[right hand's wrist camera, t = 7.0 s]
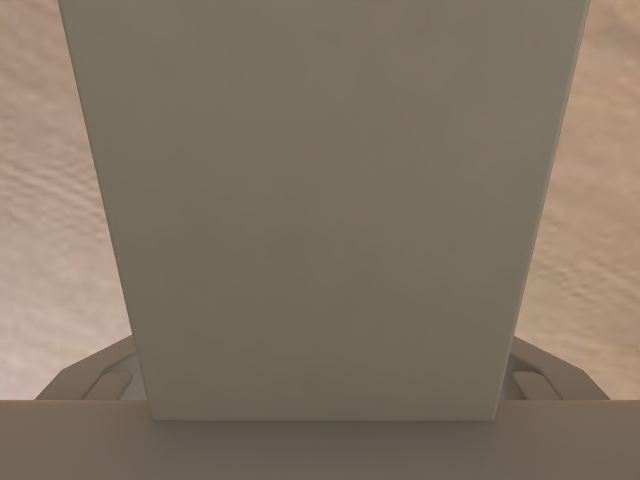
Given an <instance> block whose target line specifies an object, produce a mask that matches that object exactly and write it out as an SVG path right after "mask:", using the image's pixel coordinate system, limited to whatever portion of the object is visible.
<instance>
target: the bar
mask: <svg viewBox="0 0 640 480" xmlns="http://www.w3.org/2000/svg"><path fill="white" fill-rule="evenodd" d="M590 1H591V0H58V3H59V8H60V12H61V17H62V21H63V26H64V30H65V35H66V39H67V44H68V48H69V53H70V57H71V62H72V66H73V71H74V75H75V80H76V84H77V89H78V93H79V98H80V102H81V106H82V111H83V115H84V120H85V124H86V129H87V133H88V138H89V142H90V147H91V151H92V156H93V160H94V165H95V169H96V174H97V178H98V183H99V187H100V192H101V196H102V200H103V205H104V209H105V214H106V218H107V223H108V227H109V232H110V236H111V241H112V245H113V250H114V254H115V259H116V263H117V268H118V272H119V277H120V281H121V286H122V290H123V295H124V299H125V303H126V308H127V312H128V317H129V321H130V326H131V330H132V335H133V339H134V344H135V348H136V353H137V357H138V362H139V366H140V371H141V375H142V380H143V384H144V389H145V393H146V398H147V402H148V406H149V411H150V415H151V419H152V420H155V421H492V420H494V419H495V414H496V410H497V406H498V401H499V397H500V393H501V388H502V384H503V380H504V375H505V371H506V366H507V362H508V358H509V353H510V349H511V345H512V340H513V336H514V332H515V327H516V323H517V319H518V314H519V310H520V306H521V301H522V297H523V293H524V288H525V284H526V280H527V275H528V271H529V267H530V262H531V258H532V253H533V249H534V245H535V240H536V236H537V232H538V227H539V223H540V219H541V214H542V210H543V206H544V201H545V197H546V193H547V188H548V184H549V180H550V175H551V171H552V167H553V162H554V158H555V153H556V149H557V145H558V140H559V136H560V132H561V127H562V123H563V119H564V114H565V110H566V106H567V101H568V97H569V93H570V88H571V84H572V80H573V75H574V71H575V67H576V62H577V58H578V53H579V49H580V45H581V40H582V36H583V32H584V27H585V23H586V19H587V14H588V10H589V6H590Z"/></svg>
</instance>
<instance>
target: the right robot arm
mask: <svg viewBox="0 0 640 480" xmlns="http://www.w3.org/2000/svg"><path fill="white" fill-rule="evenodd" d="M0 480H640V400H610V398H609V397H608V396H607V395H606V394H605V393H604V392H603V391H602V390H601V389H600V388H599V387H598V386H597V385H596V384H595V383H594V381H593V380H592V379H591V378H590V377H589V376H588V375H587V374H586V373H585V372H584V371H583V370H581V369H579V368H577V367H575V366H573V365H571V364H569V363H567V362H565V361H563V360H561V359H559V358H557V357H555V356H553V355H551V354H549V353H547V352H545V351H543V350H541V349H539V348H537V347H535V346H533V345H531V344H529V343H527V342H525V341H523V340H521V339H519V338H517V337H515V336H513V340H512V345H511V349H510V353H509V358H508V362H507V366H506V371H505V375H504V380H503V384H502V388H501V393H500V397H499V401H498V406H497V410H496V414H495V419H494V420H492V421H155V420H152V419H151V415H150V411H149V406H148V402H147V398H146V393H145V389H144V384H143V380H142V375H141V371H140V366H139V362H138V357H137V353H136V348H135V344H134V339H133V335H131V336H129V337H127V338H125V339H123V340H121V341H119V342H117V343H115V344H113V345H111V346H109V347H107V348H105V349H103V350H101V351H99V352H97V353H95V354H93V355H91V356H89V357H87V358H85V359H83V360H81V361H79V362H77V363H75V364H73V365H71V366H69V367H67V368H65V369H63V370H62V371H61V372H60V373H59V374H58V375H57V376H56V377H55V378H54V379H53V380H52V381H51V382H50V384H49V385H48V386H47V387H46V388H45V389H44V390H43V391H42V392H41V393H40V394H39V395H38V396H37V398H36V399H35V400H0Z"/></svg>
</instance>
